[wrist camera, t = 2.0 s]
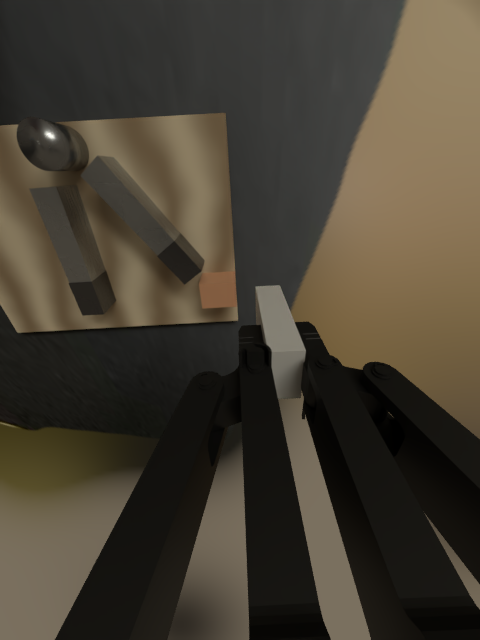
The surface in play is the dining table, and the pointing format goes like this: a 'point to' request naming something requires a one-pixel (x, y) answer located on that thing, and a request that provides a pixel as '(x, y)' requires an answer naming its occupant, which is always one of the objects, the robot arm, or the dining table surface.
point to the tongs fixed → (67, 211)
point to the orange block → (218, 290)
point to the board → (120, 224)
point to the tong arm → (143, 216)
